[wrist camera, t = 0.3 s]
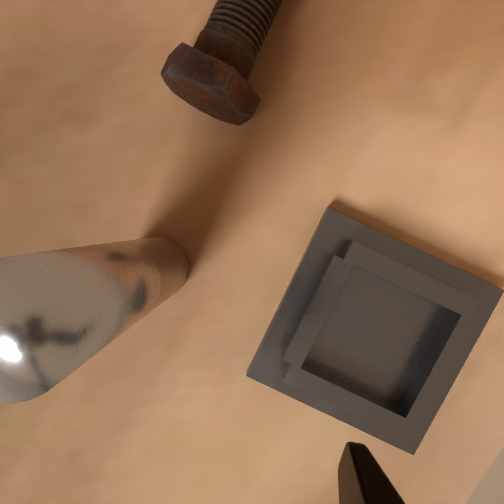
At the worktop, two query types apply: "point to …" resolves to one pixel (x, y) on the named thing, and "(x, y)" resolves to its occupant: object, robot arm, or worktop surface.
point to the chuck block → (372, 331)
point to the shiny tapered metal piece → (76, 306)
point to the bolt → (222, 60)
